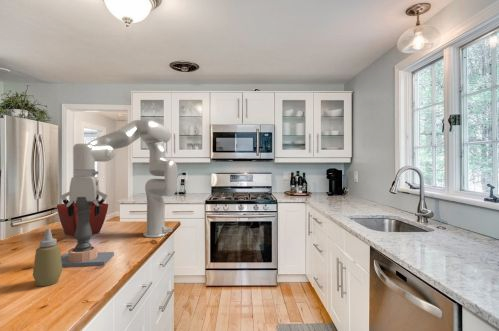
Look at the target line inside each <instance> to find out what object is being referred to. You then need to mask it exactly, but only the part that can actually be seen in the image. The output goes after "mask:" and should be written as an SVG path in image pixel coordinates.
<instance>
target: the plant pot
mask: <svg viewBox="0 0 499 331" xmlns="http://www.w3.org/2000/svg"><path fill="white" fill-rule="evenodd" d="M73 205H74V215H73V216H71V217H69V214H68V207H67V206H66V204H64V203H59V204H56V207H57V213H58V218H59V221H60V225H61V227H62V230H63V232H64V234H65V235H67V236H69V237H72V238H75V232H76V228H77V225H78V214H77V213H76V212H77V211H78V208H77V207H76V206H77V205H76V202H75V203H74V204H73ZM95 206H96V205H95V204H94V203H93V202H92V204H91V206H90V208H89V210H91V213H90V214H89V223H90V227H91V231H92V236H93V235H97V234H98V235H99V234H100V232H101V230H102V229H103V226H104V222H105V221H106V217H107V212H108V209H109V203H104V202H103V203H102V204H101V205H100V214H99V215H98V216H95Z"/></svg>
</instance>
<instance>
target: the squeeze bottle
mask: <svg viewBox="0 0 499 331" xmlns="http://www.w3.org/2000/svg"><path fill="white" fill-rule="evenodd" d="M51 230H52V229H51V228H47V229H45V231H44V232H45V233H44V237H43V239H41V240H39V246H38V247H37V248H36V249H35V255H34V265H33V270H32V272H33V273H32V276H33V279H34V282H35V285H36V286H39V287H44V286H45V287H46V286H51V285H54V284H56V283H58V282H59V280H60V277H61V275H62V272H63V267H62V262H61V255H62V254H61V247H60V245H59V244H58V243H57V238H53V234H52V231H51Z"/></svg>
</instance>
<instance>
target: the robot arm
mask: <svg viewBox="0 0 499 331" xmlns="http://www.w3.org/2000/svg"><path fill="white" fill-rule="evenodd" d="M171 138H172V133H171V131H170V129H169V128H168V127H167V126H165V125H163V124H161V123H159V122H157V121H155V120H152V119H135V120H132V121H130V122H129V123H127V124H125V125H124V126H122V127H121V128H119V129H116V130H115V131H112V132H109V133H107V134H104V135H102V136H98V137H96V138H94V139H93V140H90V141H89V142H87V143H74V145H73V148H72V149H73V150H72V156H73V158H72V160H73V162H72V163H73V165H72V166H73V171H72V174H73V177H71V178H70V183H69V190H68V192H65V193H64V194H61V195H60V199H61V201H62V204H66V206H67V207H68V214H69V217H71V216H73V215H74V205H73V204H74V203H76V201H77V197H86V200H87V201H88V202H93V203H94V204H95V205H96V206H95V216H98V215H99V214H100V205H101V204H102V203H104V202H105V201H106V199H107V197H108V194H106V193H104V192H102V191H100V185H99V180H98V176H96V175H99V171H97V170H96V169H95V166H96V163H95V162H102V163H103V162H109V161H111V160H113V159H114V157H115V155H116V153H115V152H116V150H117V149H122V148H126V147H128V146H130V145H131V144H132V143H134V142H135V141H137V140H138V139H141V140H142V141H143V142H144V143H145V144H146V146H147V147H148V150H149V158H148V159H149V160H148V171H149V174H150V175H151V176H154V177H164V178H150V179H148V180H147V181H146V182H145V186H144V190H145V196H146V231H145V232H143V237H146V238H161V237H164V236H167V234H168V232H169V233H170V232H173V227H167V226H166V225H165V213H166V212H165V210H166V208H165V206H166V204H165V199H164V198H163V197H172V196H174V195H175V194H176V192H177V188H178V165H177V163H176V162H175V161H174V160H173V159H166V148H165V147H164V145H163V144H166V143H169V141H170V140H171ZM67 197H68V199H69V200H68V199H67ZM100 197H101V199H100Z"/></svg>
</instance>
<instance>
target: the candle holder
mask: <svg viewBox="0 0 499 331" xmlns="http://www.w3.org/2000/svg"><path fill="white" fill-rule="evenodd" d="M75 203H76V205H77V206H76V207H77V208H78V211H77V212H76V213H77V214H78V225H77V228H76V232H75V237H74V239H75V240H76V242H77V244H76V245H75V247H74V248H76V249H75V251H74V252H85V251H89V250H92V248H91V245H92V243H91V242H90V239H91V238H92V236H93V235H92V231H91V227H90V223H89V214H90V213H91V210H89V208H90V206H91V204H92V202H88V201H87V200H86V197H77V201H76V202H75Z"/></svg>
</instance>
